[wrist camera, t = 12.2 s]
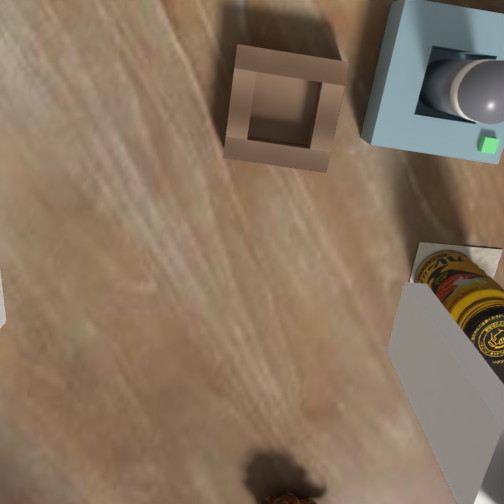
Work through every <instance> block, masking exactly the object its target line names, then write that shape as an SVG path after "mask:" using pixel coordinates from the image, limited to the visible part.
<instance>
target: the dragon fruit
mask: <svg viewBox="0 0 504 504" xmlns="http://www.w3.org/2000/svg"><path fill="white" fill-rule="evenodd" d="M262 504H316V503H315V502H314V501H313V499H312V498H310V497H309V498H308V499H303V500H299V499H298V498H297V497H296V496H295V495H294V494H292V493H286V494H285V495H283V496H280V497H279V499H278V498H276V497H274V496H272V495H270V496H269V497H267V498H265V499H263V501H262Z"/></svg>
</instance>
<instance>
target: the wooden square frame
mask: <svg viewBox="0 0 504 504" xmlns="http://www.w3.org/2000/svg"><path fill="white" fill-rule="evenodd" d="M349 63H350V62H345V61H339V60H333V59H327V58H321V57H314V56H308V55H302V54H296V53H290V52H283V51H277V50H271V49H265V48H259V47H252V46H246V45H240V44H237V50H236V58H235V66H234V74H233V82H232V90H231V98H230V106H229V114H228V122H227V130H226V138H225V146H224V154H223V158H228V159H234V160H241V161H248V162H255V163H262V164H269V165H275V166H282V167H289V168H296V169H303V170H310V171H316V172H323V173H327V168H328V163H329V158H330V153H331V149H332V144H333V139H334V134H335V130H336V125H337V120H338V115H339V110H340V106H341V101H342V96H343V91H344V87H345V82H346V77H347V72H348V68H349Z"/></svg>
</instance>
